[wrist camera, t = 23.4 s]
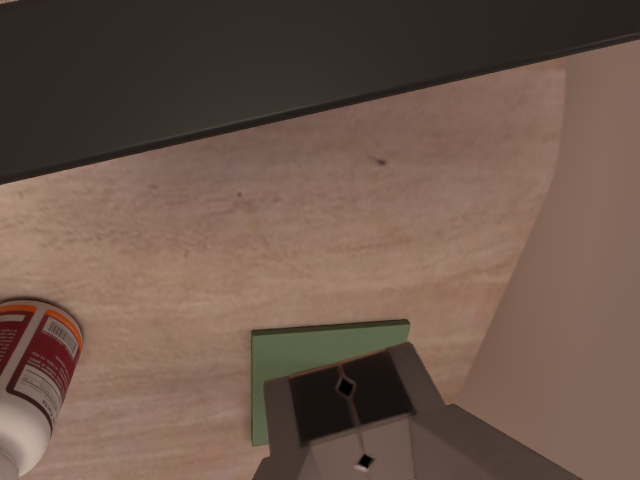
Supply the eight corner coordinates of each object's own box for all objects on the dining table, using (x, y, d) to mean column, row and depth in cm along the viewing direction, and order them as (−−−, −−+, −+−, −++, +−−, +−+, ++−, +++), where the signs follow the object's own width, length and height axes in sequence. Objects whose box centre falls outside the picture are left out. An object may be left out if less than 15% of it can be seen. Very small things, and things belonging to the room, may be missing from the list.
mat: (407, 319, 35) (410, 324, 35) (385, 424, 41) (388, 429, 40) (251, 330, 33) (252, 336, 32) (251, 440, 38) (252, 446, 38)
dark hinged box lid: (-1527, 297, 2) (-1267, 473, 2) (1382, -270, 3) (1329, -118, 3) (83, 138, 17) (91, 158, 18) (420, 63, 18) (422, 83, 19)
